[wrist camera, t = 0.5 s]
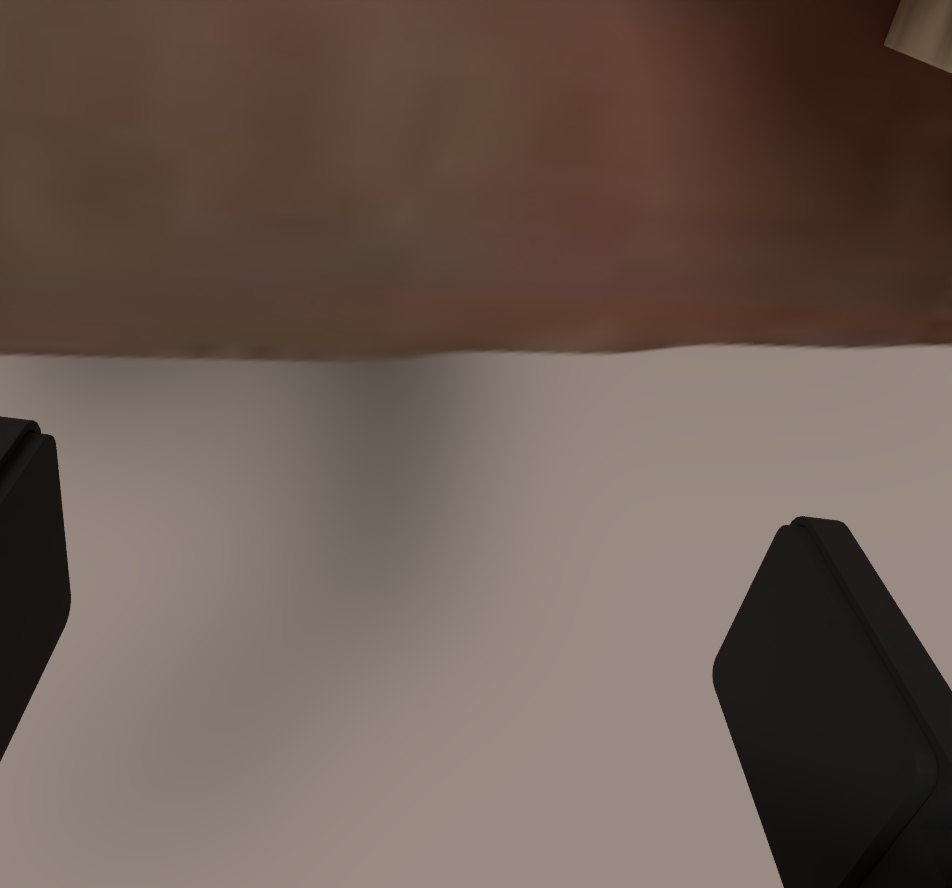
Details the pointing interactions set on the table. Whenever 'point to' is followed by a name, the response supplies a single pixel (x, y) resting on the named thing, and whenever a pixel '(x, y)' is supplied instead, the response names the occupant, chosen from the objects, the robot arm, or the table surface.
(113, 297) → the table surface
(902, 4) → the beech block
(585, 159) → the table surface
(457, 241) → the table surface
